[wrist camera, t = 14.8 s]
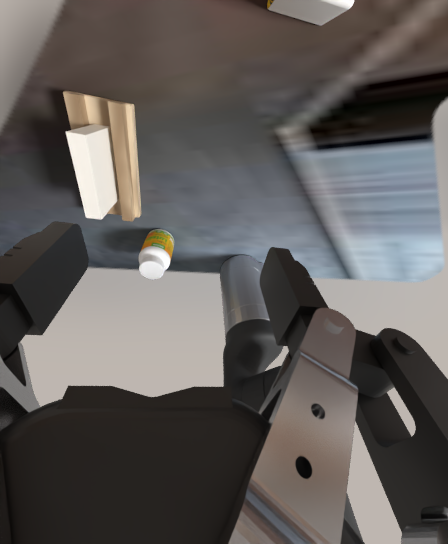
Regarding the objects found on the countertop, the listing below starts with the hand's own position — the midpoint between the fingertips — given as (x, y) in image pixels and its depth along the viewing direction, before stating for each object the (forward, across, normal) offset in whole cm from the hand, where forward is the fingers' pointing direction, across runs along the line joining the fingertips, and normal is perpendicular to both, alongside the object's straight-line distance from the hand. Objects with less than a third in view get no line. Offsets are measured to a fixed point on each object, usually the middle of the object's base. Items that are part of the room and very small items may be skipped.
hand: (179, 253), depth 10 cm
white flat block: (+29, +13, +5) cm, 32 cm away
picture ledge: (+30, +13, +5) cm, 33 cm away
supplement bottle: (+30, +6, +18) cm, 36 cm away
